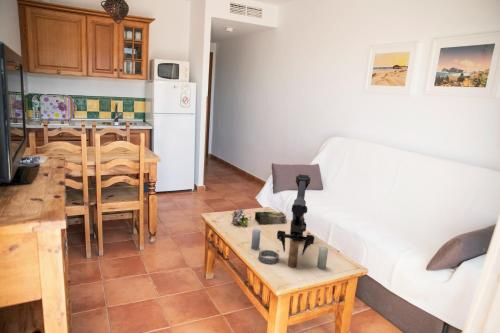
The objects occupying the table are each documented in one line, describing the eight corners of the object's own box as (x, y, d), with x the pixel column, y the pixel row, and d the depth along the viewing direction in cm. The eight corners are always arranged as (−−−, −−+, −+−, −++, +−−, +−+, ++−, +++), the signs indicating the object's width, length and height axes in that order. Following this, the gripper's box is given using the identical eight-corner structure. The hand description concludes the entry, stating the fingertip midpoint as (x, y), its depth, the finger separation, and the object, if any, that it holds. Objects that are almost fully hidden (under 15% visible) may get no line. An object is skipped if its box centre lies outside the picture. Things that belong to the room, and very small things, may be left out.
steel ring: (272, 253, 188) (273, 249, 187) (282, 262, 178) (282, 257, 178) (255, 255, 183) (255, 251, 183) (263, 265, 174) (264, 260, 174)
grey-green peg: (322, 264, 179) (324, 246, 177) (327, 268, 176) (329, 250, 173) (315, 265, 178) (317, 247, 176) (320, 269, 174) (322, 251, 172)
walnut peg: (293, 262, 179) (296, 239, 176) (298, 267, 175) (300, 243, 172) (286, 264, 177) (288, 240, 174) (290, 268, 173) (293, 244, 170)
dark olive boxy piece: (281, 218, 241) (282, 210, 240) (287, 224, 232) (288, 215, 231) (254, 219, 236) (255, 211, 234) (258, 225, 227) (259, 216, 225)
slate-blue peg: (257, 245, 196) (258, 229, 194) (260, 249, 192) (261, 232, 190) (250, 246, 194) (251, 229, 192) (253, 249, 190) (254, 232, 188)
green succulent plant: (233, 231, 226) (228, 214, 229) (248, 226, 231) (242, 209, 234) (238, 228, 216) (232, 209, 219) (254, 223, 221) (247, 205, 224)
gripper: (279, 215, 177) (274, 244, 169) (316, 220, 173) (313, 250, 165) (279, 224, 186) (275, 252, 178) (314, 229, 183) (311, 258, 174)
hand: (293, 253), depth 173 cm, fingers open, 9 cm apart
